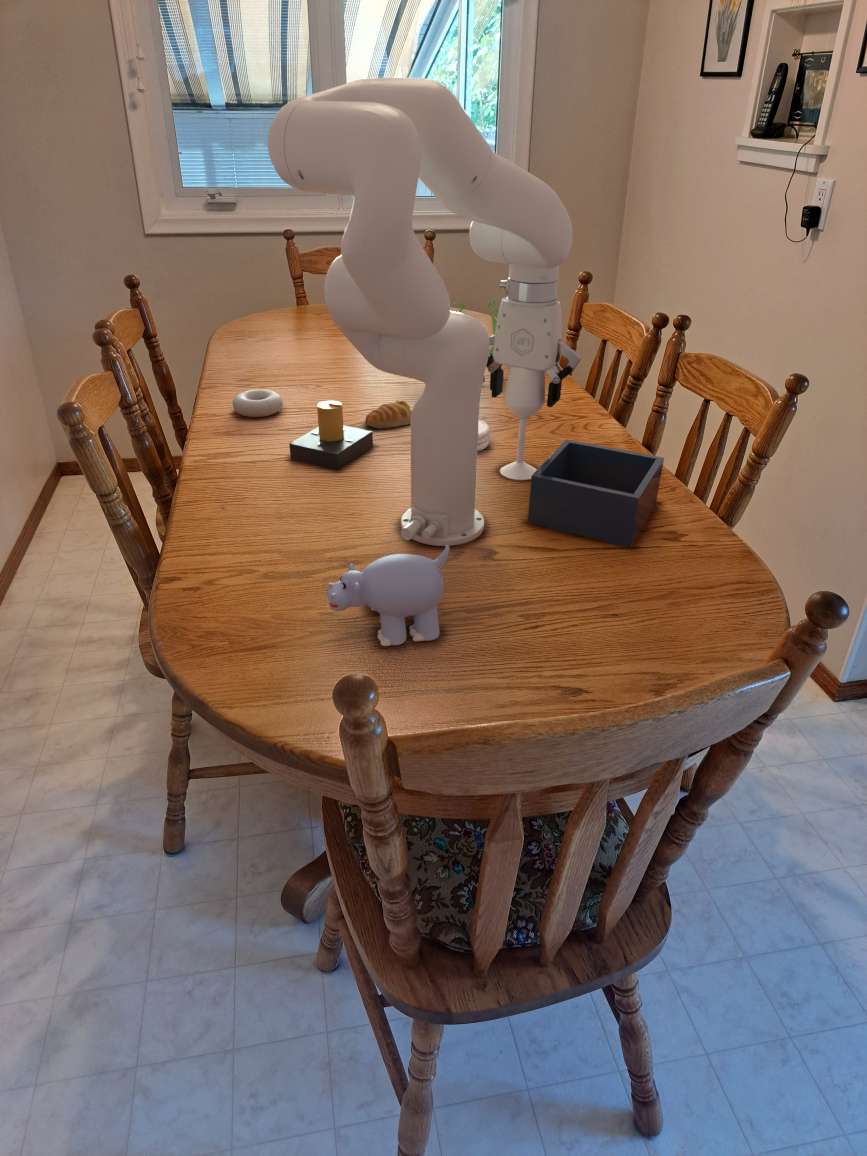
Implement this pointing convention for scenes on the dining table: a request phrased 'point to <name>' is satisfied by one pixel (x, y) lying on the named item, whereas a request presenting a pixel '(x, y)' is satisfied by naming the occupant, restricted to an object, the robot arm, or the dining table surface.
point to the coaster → (483, 435)
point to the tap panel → (331, 448)
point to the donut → (257, 403)
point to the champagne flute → (523, 412)
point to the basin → (595, 491)
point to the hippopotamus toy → (395, 594)
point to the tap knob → (330, 420)
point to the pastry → (390, 415)
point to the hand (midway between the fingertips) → (524, 399)
